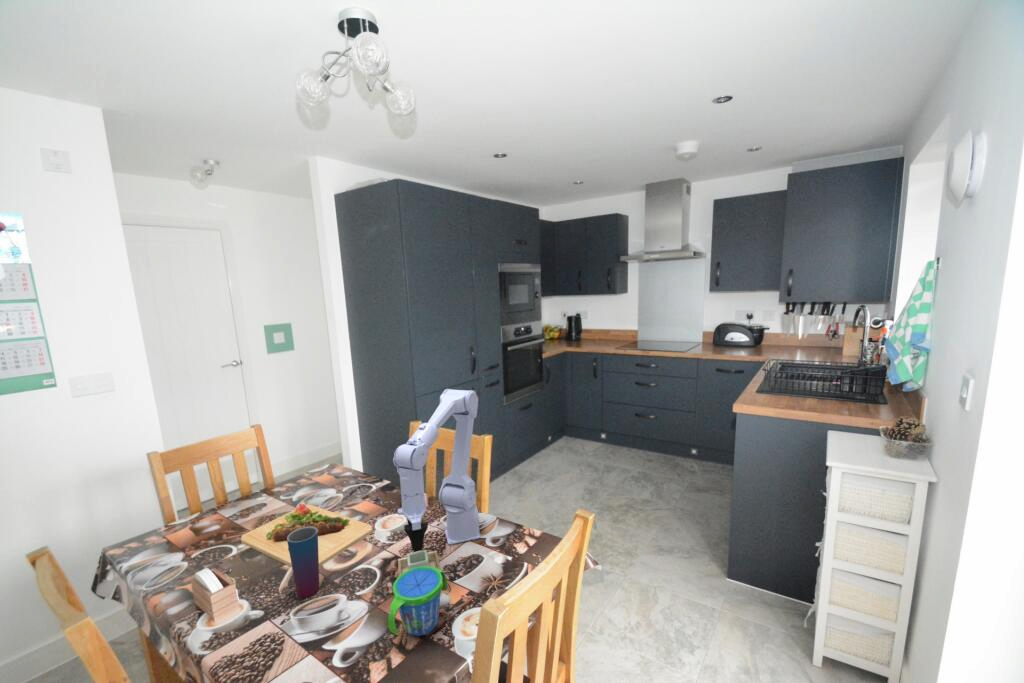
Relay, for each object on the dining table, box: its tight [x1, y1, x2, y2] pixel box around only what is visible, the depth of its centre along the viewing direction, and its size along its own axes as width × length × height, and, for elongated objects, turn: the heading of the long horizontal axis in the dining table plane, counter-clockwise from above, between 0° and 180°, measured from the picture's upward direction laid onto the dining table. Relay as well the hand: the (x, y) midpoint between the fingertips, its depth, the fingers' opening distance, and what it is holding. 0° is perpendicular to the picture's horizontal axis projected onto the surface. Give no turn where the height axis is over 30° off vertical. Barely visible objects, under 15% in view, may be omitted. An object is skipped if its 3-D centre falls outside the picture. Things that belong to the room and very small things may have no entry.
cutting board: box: [240, 503, 373, 568], centre depth 128 cm, size 35×23×8 cm
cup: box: [287, 527, 320, 599], centre depth 103 cm, size 7×7×15 cm
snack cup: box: [387, 566, 449, 637], centre depth 90 cm, size 16×10×10 cm
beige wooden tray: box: [397, 550, 442, 577], centre depth 106 cm, size 10×10×3 cm
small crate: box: [406, 549, 429, 570], centre depth 106 cm, size 5×5×5 cm
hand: (416, 541), depth 106 cm, fingers open, 7 cm apart
